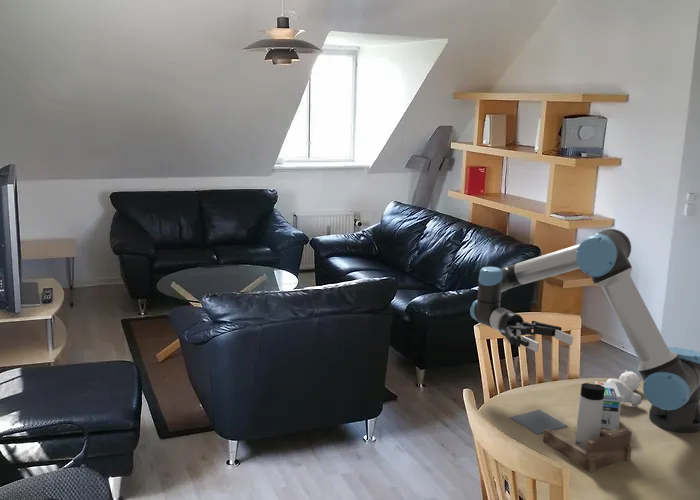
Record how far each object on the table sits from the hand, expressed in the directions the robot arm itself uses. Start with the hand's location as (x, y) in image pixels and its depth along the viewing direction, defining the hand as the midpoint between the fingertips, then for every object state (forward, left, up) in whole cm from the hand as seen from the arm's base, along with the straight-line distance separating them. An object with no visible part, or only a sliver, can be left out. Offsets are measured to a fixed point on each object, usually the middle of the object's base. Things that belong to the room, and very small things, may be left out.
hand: (555, 344), depth 208 cm
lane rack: (-11, +15, -25) cm, 31 cm away
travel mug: (-11, +15, -25) cm, 31 cm away
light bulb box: (-17, -6, -25) cm, 31 cm away
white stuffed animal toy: (-23, -20, -25) cm, 39 cm away
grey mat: (+3, +2, -25) cm, 25 cm away
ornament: (-26, -33, -25) cm, 48 cm away
